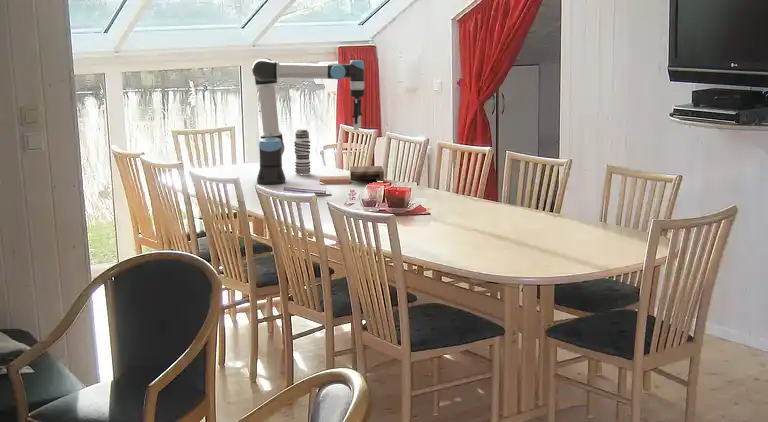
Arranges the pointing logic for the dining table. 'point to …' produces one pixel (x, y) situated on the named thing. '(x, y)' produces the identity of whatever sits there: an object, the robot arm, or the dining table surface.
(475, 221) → the dining table surface
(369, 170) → the walnut shelf
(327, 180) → the terracotta tile
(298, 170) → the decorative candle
